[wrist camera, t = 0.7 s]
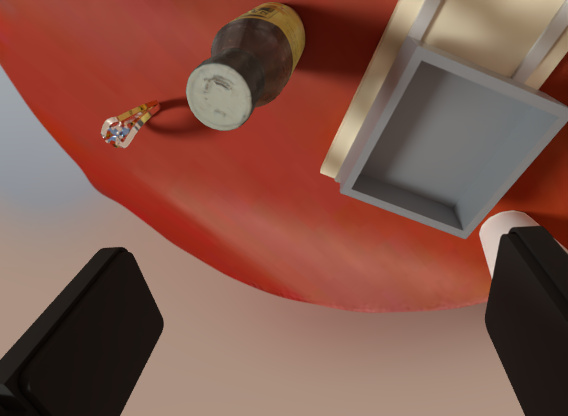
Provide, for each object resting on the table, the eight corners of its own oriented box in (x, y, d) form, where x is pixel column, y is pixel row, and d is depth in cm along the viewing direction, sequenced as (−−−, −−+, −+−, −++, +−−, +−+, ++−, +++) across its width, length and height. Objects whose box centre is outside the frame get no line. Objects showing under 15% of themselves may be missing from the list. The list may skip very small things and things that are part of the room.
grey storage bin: (402, 31, 33) (417, 45, 26) (533, 85, 34) (575, 111, 28) (339, 158, 40) (340, 192, 34) (447, 199, 42) (465, 239, 35)
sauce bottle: (280, -15, 34) (226, 1, 17) (319, 42, 36) (302, 102, 20) (231, 31, 37) (146, 83, 20) (270, 81, 39) (221, 163, 23)
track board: (471, -157, 27) (480, -166, 25) (649, -72, 28) (669, -75, 27) (320, 167, 44) (320, 175, 42) (437, 210, 45) (440, 220, 44)
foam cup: (529, 186, 42) (594, 261, 31) (560, 236, 45) (629, 319, 34) (453, 225, 46) (487, 302, 36) (486, 268, 49) (527, 350, 39)
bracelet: (161, 85, 41) (127, 107, 34) (178, 109, 42) (148, 135, 36) (118, 111, 43) (79, 136, 37) (135, 133, 45) (101, 162, 38)
